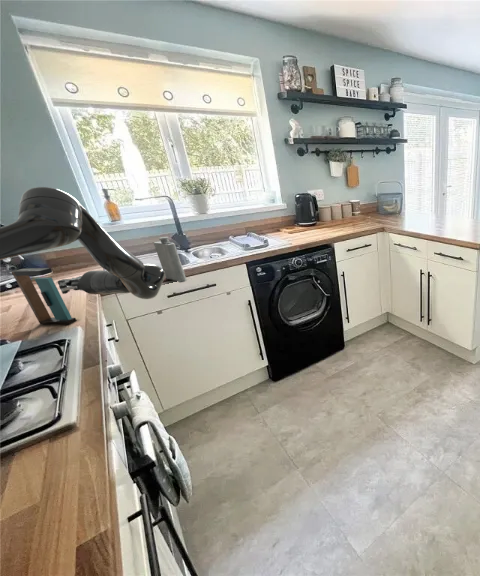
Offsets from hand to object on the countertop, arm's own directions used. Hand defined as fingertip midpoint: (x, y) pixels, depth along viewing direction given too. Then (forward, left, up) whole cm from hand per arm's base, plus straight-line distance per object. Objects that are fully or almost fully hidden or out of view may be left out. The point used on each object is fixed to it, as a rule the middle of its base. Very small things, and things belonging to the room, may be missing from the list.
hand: (61, 283), depth 100 cm
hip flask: (+30, +31, -15) cm, 46 cm away
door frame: (-7, +7, -15) cm, 18 cm away
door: (-5, +4, -13) cm, 15 cm away
